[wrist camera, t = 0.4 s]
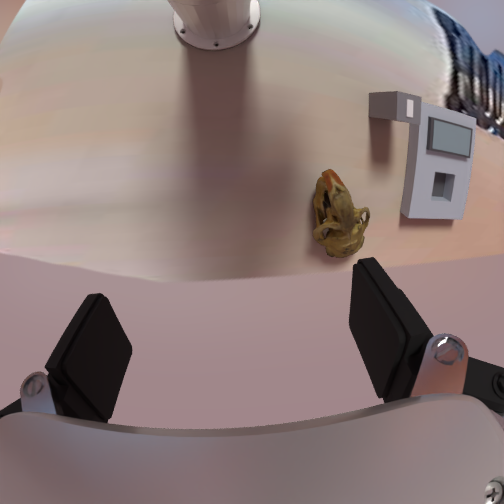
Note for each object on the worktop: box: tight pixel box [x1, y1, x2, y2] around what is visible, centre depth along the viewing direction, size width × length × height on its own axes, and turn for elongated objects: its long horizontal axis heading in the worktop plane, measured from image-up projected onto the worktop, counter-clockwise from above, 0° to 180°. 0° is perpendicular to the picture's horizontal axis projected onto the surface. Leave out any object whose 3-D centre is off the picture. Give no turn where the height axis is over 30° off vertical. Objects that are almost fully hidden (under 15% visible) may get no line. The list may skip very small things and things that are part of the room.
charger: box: [369, 91, 421, 125], centre depth 33 cm, size 4×4×9 cm
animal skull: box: [313, 169, 370, 258], centre depth 41 cm, size 9×16×10 cm, turn 30°
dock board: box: [400, 102, 476, 220], centre depth 39 cm, size 20×14×4 cm
